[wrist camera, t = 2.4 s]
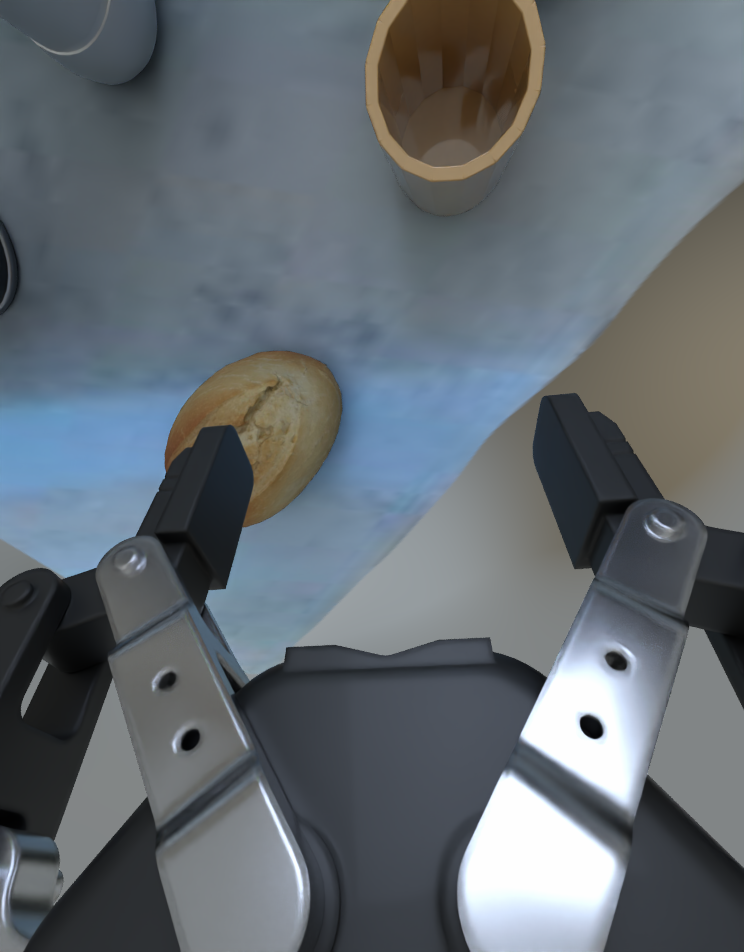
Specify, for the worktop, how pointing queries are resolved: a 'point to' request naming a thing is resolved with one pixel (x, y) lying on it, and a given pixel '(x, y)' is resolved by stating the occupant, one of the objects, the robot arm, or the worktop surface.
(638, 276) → the worktop surface
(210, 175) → the worktop surface
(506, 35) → the cup
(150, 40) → the plastic bottle
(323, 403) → the bread roll
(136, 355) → the worktop surface
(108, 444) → the worktop surface
